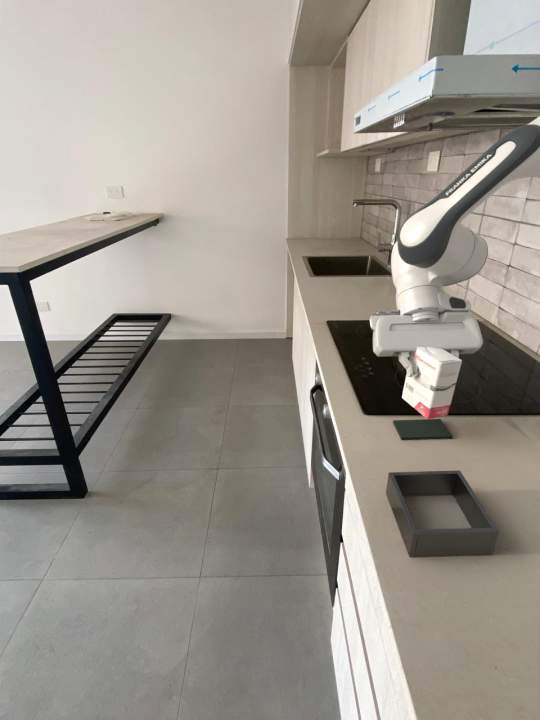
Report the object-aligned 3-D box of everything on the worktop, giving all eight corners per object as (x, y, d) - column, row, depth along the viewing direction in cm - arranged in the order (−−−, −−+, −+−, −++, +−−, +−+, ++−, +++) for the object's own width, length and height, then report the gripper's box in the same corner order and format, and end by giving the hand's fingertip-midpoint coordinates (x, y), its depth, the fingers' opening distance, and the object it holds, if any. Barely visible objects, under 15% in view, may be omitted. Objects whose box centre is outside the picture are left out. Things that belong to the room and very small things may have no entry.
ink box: (450, 416, 74) (464, 359, 69) (427, 420, 73) (439, 362, 68) (421, 393, 82) (432, 341, 77) (400, 397, 81) (409, 343, 75)
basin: (455, 491, 65) (460, 470, 63) (492, 555, 54) (499, 531, 52) (385, 493, 65) (388, 472, 63) (409, 557, 54) (413, 533, 52)
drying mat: (440, 421, 83) (440, 418, 83) (452, 438, 77) (452, 436, 77) (392, 422, 83) (392, 420, 83) (401, 440, 77) (401, 437, 77)
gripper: (372, 303, 76) (380, 372, 71) (478, 300, 76) (494, 369, 71) (365, 318, 82) (372, 382, 77) (463, 315, 82) (477, 379, 77)
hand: (431, 375), depth 74 cm, fingers closed on ink box, 6 cm apart
